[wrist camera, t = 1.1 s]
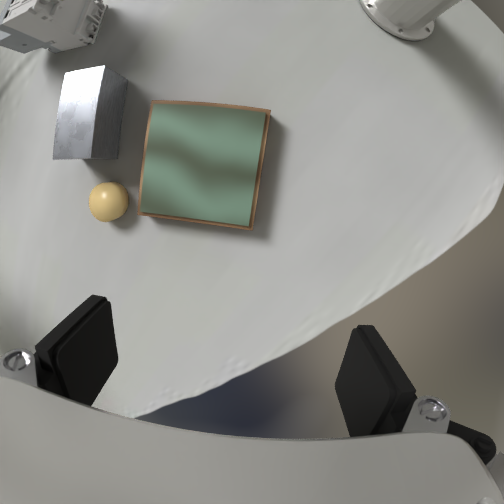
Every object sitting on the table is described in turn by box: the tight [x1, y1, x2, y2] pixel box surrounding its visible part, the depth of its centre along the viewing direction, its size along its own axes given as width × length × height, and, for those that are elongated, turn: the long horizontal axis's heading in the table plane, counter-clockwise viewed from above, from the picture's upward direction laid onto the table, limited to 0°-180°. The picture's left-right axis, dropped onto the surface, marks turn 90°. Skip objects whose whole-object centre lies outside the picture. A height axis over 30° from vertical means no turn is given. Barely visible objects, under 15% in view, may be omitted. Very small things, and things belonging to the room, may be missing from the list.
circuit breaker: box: [0, 0, 107, 53], centre depth 20 cm, size 8×14×15 cm, turn 83°
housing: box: [53, 66, 128, 160], centre depth 29 cm, size 11×6×7 cm, turn 174°
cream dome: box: [89, 182, 129, 222], centre depth 34 cm, size 5×5×2 cm
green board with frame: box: [137, 100, 271, 230], centre depth 32 cm, size 14×14×3 cm
